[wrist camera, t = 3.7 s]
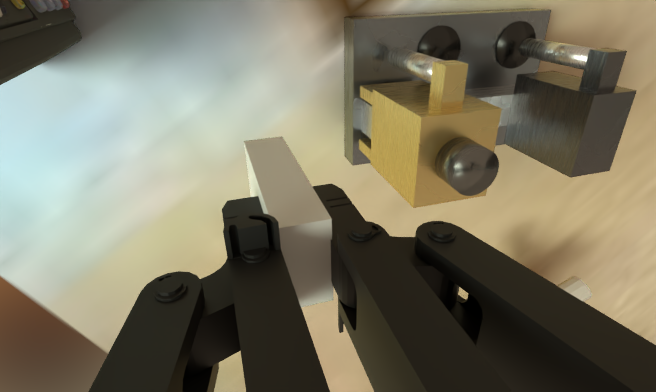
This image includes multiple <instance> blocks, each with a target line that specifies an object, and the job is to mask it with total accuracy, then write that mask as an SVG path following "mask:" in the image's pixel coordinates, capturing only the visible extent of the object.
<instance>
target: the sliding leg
mask: <svg viewBox="0 0 656 392" xmlns="http://www.w3.org/2000/svg"><path fill="white" fill-rule="evenodd" d="M388 62H389V64H390V65H391V66H392V67H395V68H397V69H400V70H402V71H405V72H407V73H409V74H412V75H414V76H417V77H419V78H422V79H424V80H427V81H429V82H431V84H430V83H427V82H425V81H422V80H416V81H405V82H394V83H383V84H372V85H361V86H360V97H361V98H362V99H364V100H365V101H367V102H368V103H370V104H371V105H372V132H371V139H370V138H364V139H359V150H360V151H361V152H362V153H363V154H364V155H365V156H366V157H367V158H368V159H369V160H370V161H371V165H372V166H373V167H374V168H375V169H376V170H377V171H378V172H379V173H380V174H381V175H382V176H383V177H384V178H385V179H386V180H387V181H388V182H389V183H390V185H391V186H392V187H393V188H394V189H395V190H396V191H397V192H398V193H399V194H400V195H401V196H402V197H403V198H404V199H405V200H406V201H407V202H408V203H409V204H410V205H411V206H412V207H413V208H416V207H422V206H427V205H433V204H439V203H445V202H451V201H456V200H462V199H468V198H474V197H480V196H485V195H486V191H487V188H488V187H489V186H490V185H491V184H492V182H493V181H494V179H495V177H496V175H497V173H498V168H499V162H498V158H497V156H496V154H495V153H494V148H495V143H496V137H497V132H498V126H499V121H500V116H501V110H502V108H500V107H497V106H495V105H492V104H490V103H487V102H485V101H482V100H480V99H477V98H475V97H472V96H470V95H467V94H465V93H464V92H465V85H466V77H467V70H468V64H467V63H463V62H460V61H456V60H448V61H445V60H441V59H438V58H435V57H431V56H428V55H424V54H421V53H418V52H414V51H411V50H408V49H404V48H401V47H395V48H393V49H392V50H391V51H390V52H389V54H388Z"/></svg>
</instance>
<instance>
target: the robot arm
mask: <svg viewBox="0 0 656 392" xmlns="http://www.w3.org/2000/svg"><path fill="white" fill-rule="evenodd" d="M244 146H245V154H246V162H247V169H248V177H249V185H250V193H251V197H249V198H243V199H236V200H230V201H227V202H226V204H225V206H224V207H223V209H222V213H223V221H224V230H223V233H224V239H225V245H226V250H227V256H228V258H227V260H226V262H225V264H224V265H223V266H222V267H221V268H220V269H219V270H217V271H216V272H215V273H213V274H211V275H209V276H207V277H204V278H202V279H199V278H198V276H196V275H194V274H192V273H190V272H173V273H167V274H165V275H162V276H160V277H157V278H155V279H154V280H153V281H151V282H150V283H148V284H147V285H146V286H145V287H144V289H143V290H142V291H141V293H140V294H139V296H138V298H137V300H136V302H135V304H134V306H133V308H132V310H131V312H130V314H129V315H128V317H127V319H126V321H125V323H124V325H123V327H122V329H121V331H120V333H119V335H118V337H117V338H116V340H115V342H114V344H113V346H112V348H111V350H110V352H109V354H108V356H107V358H106V359H105V361H104V363H103V365H102V367H101V369H100V371H99V373H98V375H97V377H96V379H95V380H94V382H93V385H92V386H91V388H90V390H89V392H214V388H215V383H216V379H217V374H218V369H219V362H220V361H222V360H224V359H226V358H228V357H229V356H231V355H233V354H235V353H237V352H239V351H240V350H241V357H242V364H243V371H244V378H245V385H246V392H330V391H329V388H328V385H327V382H326V379H325V376H324V373H323V370H322V367H321V364H320V361H319V359H318V356H317V353H316V350H315V347H314V344H313V341H312V338H311V335H310V332H309V329H308V327H307V324H306V321H305V318H304V315H303V312H302V309H301V307H305V306H309V305H314V304H318V303H322V302H327V301H331V300H333V286H334V288H335V290H336V293H337V295H338V327H339V333H341V332H343V324H345V327H346V329H347V331H348V333H349V336H350V338H351V340H352V342H353V345H354V347H355V349H356V351H357V354H358V356H359V358H360V360H361V362H362V365H363V367H364V369H365V371H366V374H367V376H368V378H369V380H370V383H371V385H372V387H373V389H374V392H656V345H654V344H653V343H651V342H649V341H648V340H646V339H644V338H643V337H641V336H639V335H638V334H636V333H634V332H633V331H631V330H629V329H628V328H626V327H624V326H623V325H621V324H619V323H618V322H616V321H614V320H613V319H611V318H609V317H608V316H606V315H604V314H603V313H601V312H599V311H598V310H596V309H595V308H593V307H591V306H590V305H588V304H586V303H585V302H583V301H581V300H580V299H578V298H576V297H575V296H573V295H571V294H570V293H568V292H566V291H565V290H563V289H561V288H560V287H558V286H556V285H555V284H553V283H551V282H550V281H548V280H546V279H545V278H543V277H541V276H540V275H538V274H536V273H535V272H533V271H531V270H530V269H528V268H526V267H525V266H523V265H522V264H520V263H518V262H517V261H515V260H513V259H512V258H510V257H508V256H507V255H505V254H503V253H502V252H500V251H498V250H497V249H495V248H493V247H492V246H490V245H488V244H487V243H485V242H483V241H482V240H480V239H478V238H477V237H475V236H473V235H472V234H470V233H468V232H467V231H465V230H463V229H462V228H460V227H458V226H456V225H454V224H451V223H447V222H443V221H431V222H427V223H424V224H422V225H420V226H419V227H418V228H417V230H416V237H392V236H389V234H388V233H387V232H386V231H385V229H383V228H382V227H381V226H380V225H378V224H375V223H373V222H367V221H365V220H364V218H363V217H362V216H361V214H360V213H359V211H358V210H357V209H356V207H355V206H354V205H353V204H352V202H351V201H350V199H349V198H348V197H347V195H346V194H345V193H344V191H343V190H342V189H341V188H339V187H337V186H335V185H333V184H326V185H319V186H313V187H312V185H311V184H310V182H309V180H308V179H307V177H306V175H305V174H304V172H303V170H302V169H301V167H300V165H299V164H298V162H297V160H296V159H295V157H294V155H293V154H292V152H291V150H290V149H289V147H288V145H287V144H286V142H285V140H284V139H283V137H274V138H265V139H257V140H249V141H244ZM459 287H461V288H462V289H463V290H465V291H466V292H467V293H469V294H468V299H467V300H465V299H464V298H462V297H461V296H459V295H458V291H459Z"/></svg>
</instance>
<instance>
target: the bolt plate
mask: <svg viewBox="0 0 656 392" xmlns="http://www.w3.org/2000/svg"><path fill="white" fill-rule="evenodd" d="M550 12H551V10H544V9H516V10H495V11H473V12H452V13H431V14H409V15H388V16H366V17H345V18H344V42H345V157H346V158H347V159H348V161H349V162H350V163H351V164H352V165H359V164H366V163H371V161H370V160H369V159H368V158H367V157H366V156H365V155H364V154H363V153H362V152H361V151H360V150H359V139H364V138H370V139H371V132H372V105H371V104H370V103H368V102H367V101H365V100H364V99H362V98H361V97H360V86H361V85H372V84H383V83H394V82H405V81H416V80H422V81H425V82H427V83H430V84H431V82H429V81H427V80H424V79H422V78H419V77H417V76H414V75H412V74H409V73H407V72H405V71H402V70H400V69H397V68H395V67H392V66H391V65H390V64H389V62H388V54H389V52H390V51H391V50H392V49H393V48H395V47H401V48H404V49H408V50H411V51H414V52H418V53H421V54H424V55H428V56H431V57H435V58H438V59H441V60H445V61H448V60H456V61H460V62H463V63H467V64H468V70H467V77H466V85H465V92H464V93H465V94H467V95H470V96H472V97H475V98H477V99H480V100H482V101H485V102H487V103H490V104H492V105H495V106H497V107H500V108H502V110H501V116H500V121H499V126H498V132H497V137H496V143H495V145H502V144H506V145H508V146H510V147H512V148H514V149H516V150H518V151H520V152H522V153H524V154H526V155H528V156H530V157H532V158H533V159H535V160H537V161H539V162H541V163H543V164H545V165H547V166H549V167H551V168H553V169H555V170H557V171H559V172H561V173H563V174H565V175H567V176H569V177H576V176H581V175H587V174H593V173H599V172H605V171H609V170H610V167H611V165H612V162H613V159H614V156H615V153H616V150H617V147H618V144H619V141H620V138H621V135H622V132H623V129H624V126H625V123H626V120H627V117H628V114H629V112H630V109H631V106H632V103H633V100H634V97H635V94H636V90H631V89H627V88H623V87H619V86H616V84H617V81H618V77H619V74H620V71H621V68H622V65H623V62H624V58H625V55H626V52H627V51H624V50H617V49H610V48H601V49H598V48H592V47H585V46H579V45H572V44H566V43H559V42H553V41H546V40H545V35H546V31H547V26H548V22H549V17H550ZM540 60H542V61H546V62H551V63H556V64H560V65H565V66H570V67H574V68H579V69H584V72H583V76H582V78H581V77H576V76H572V75H568V74H564V73H559V72H555V71H548V72H538V67H539V63H540Z"/></svg>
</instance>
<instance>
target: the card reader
mask: <svg viewBox="0 0 656 392" xmlns="http://www.w3.org/2000/svg"><path fill="white" fill-rule="evenodd" d="M69 6H70V4H69V2H68V1H67V0H0V85H1V84H3V83H5V82H7V81H9V80H11V79H13V78H15V77H17V76H19V75H20V74H22V73H24V72H26V71H28V70H30V69H32V68H34V67H36V66H38V65H40V64H42V63H44V62H45V61H47V60H49V59H51V58H52V57H54V56H56V55H57V54H59V53H61V52H62V51H64V50H65V49H67V48H69V47H70V46H72V45H74V44H75V43H77V42H79V41H80V39H81V38H82V36H81V32H80V31H79V30H78V28H77V27H76V26H75V24H74V23H73V22H72V21H73V20H75V19H76V16H75V15H74V13H73V12H72V11H71V9H70V8H69Z"/></svg>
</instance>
